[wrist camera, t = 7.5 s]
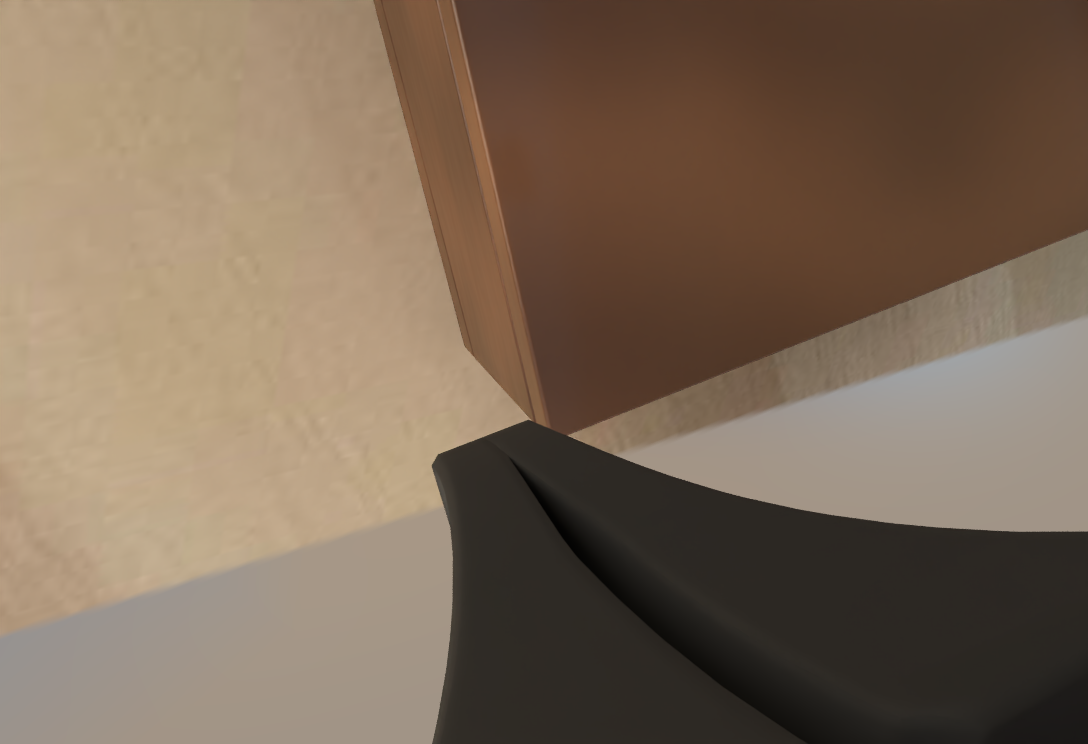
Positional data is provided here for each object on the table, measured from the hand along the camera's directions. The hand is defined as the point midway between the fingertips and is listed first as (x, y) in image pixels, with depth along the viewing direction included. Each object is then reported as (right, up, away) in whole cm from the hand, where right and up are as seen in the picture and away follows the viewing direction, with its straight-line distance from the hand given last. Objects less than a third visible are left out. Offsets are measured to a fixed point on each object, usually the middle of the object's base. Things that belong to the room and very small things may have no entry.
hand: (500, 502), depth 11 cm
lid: (+6, +9, +6) cm, 12 cm away
